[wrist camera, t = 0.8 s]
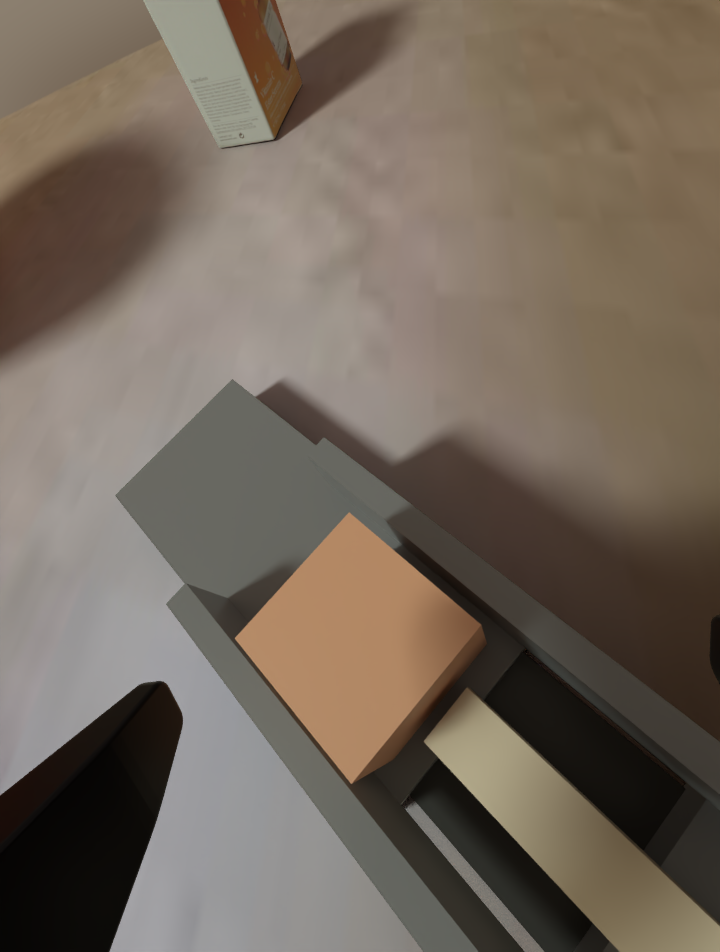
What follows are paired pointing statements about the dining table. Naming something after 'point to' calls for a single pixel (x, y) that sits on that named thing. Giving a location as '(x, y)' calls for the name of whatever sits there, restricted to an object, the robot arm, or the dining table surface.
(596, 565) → the dining table surface
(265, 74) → the small box
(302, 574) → the terracotta block
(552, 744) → the channel
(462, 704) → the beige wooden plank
